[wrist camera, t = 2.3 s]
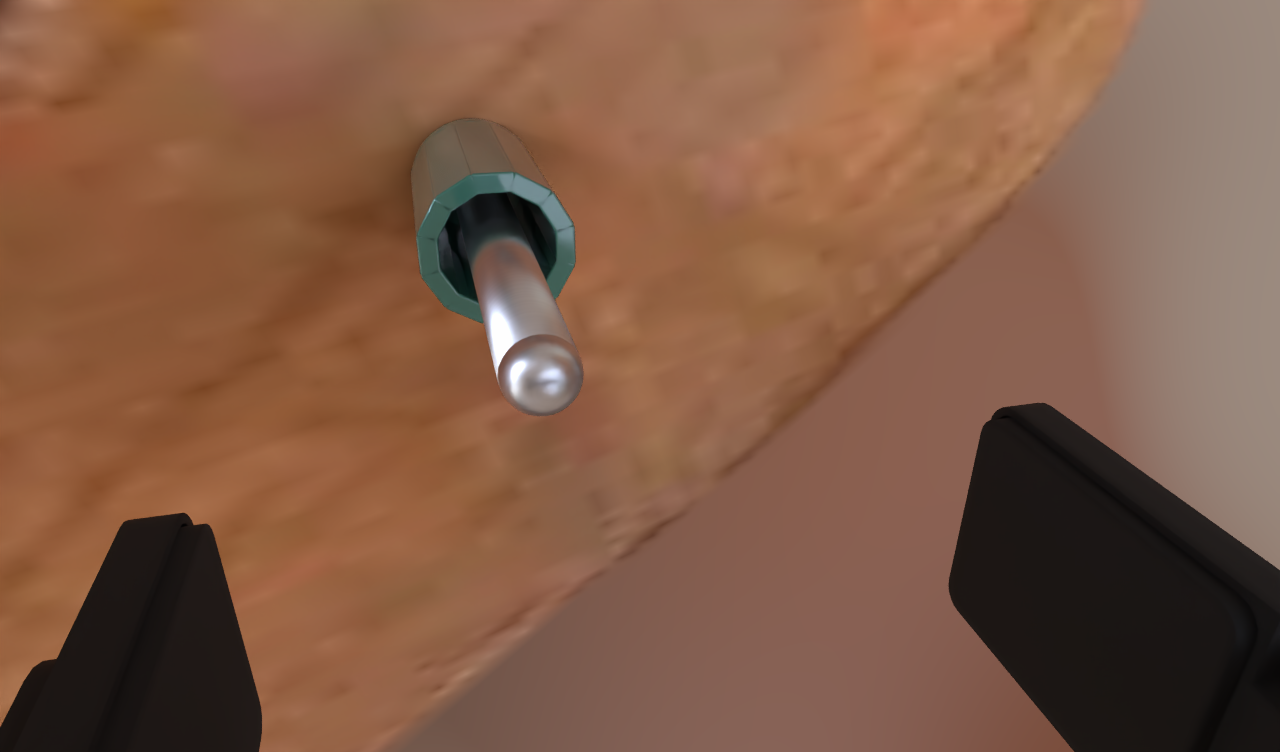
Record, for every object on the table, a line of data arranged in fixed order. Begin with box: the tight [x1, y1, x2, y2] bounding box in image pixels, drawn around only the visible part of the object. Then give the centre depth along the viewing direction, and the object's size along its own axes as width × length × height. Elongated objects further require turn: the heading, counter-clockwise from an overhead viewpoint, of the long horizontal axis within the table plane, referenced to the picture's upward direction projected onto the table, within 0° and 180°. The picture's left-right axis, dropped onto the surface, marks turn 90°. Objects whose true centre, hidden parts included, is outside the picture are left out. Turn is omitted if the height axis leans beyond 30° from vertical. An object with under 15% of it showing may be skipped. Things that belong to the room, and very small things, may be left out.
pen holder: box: [411, 118, 576, 323], centre depth 24 cm, size 4×4×7 cm
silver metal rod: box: [456, 193, 584, 416], centre depth 20 cm, size 2×2×14 cm
